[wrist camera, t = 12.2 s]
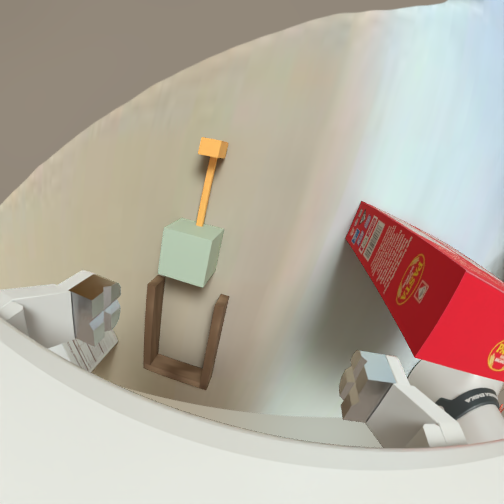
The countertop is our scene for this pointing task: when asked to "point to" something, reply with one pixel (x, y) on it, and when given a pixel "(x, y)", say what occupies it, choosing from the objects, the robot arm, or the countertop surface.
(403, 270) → the food packaging
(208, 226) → the block
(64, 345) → the supplement box
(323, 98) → the countertop surface
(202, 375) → the lane
